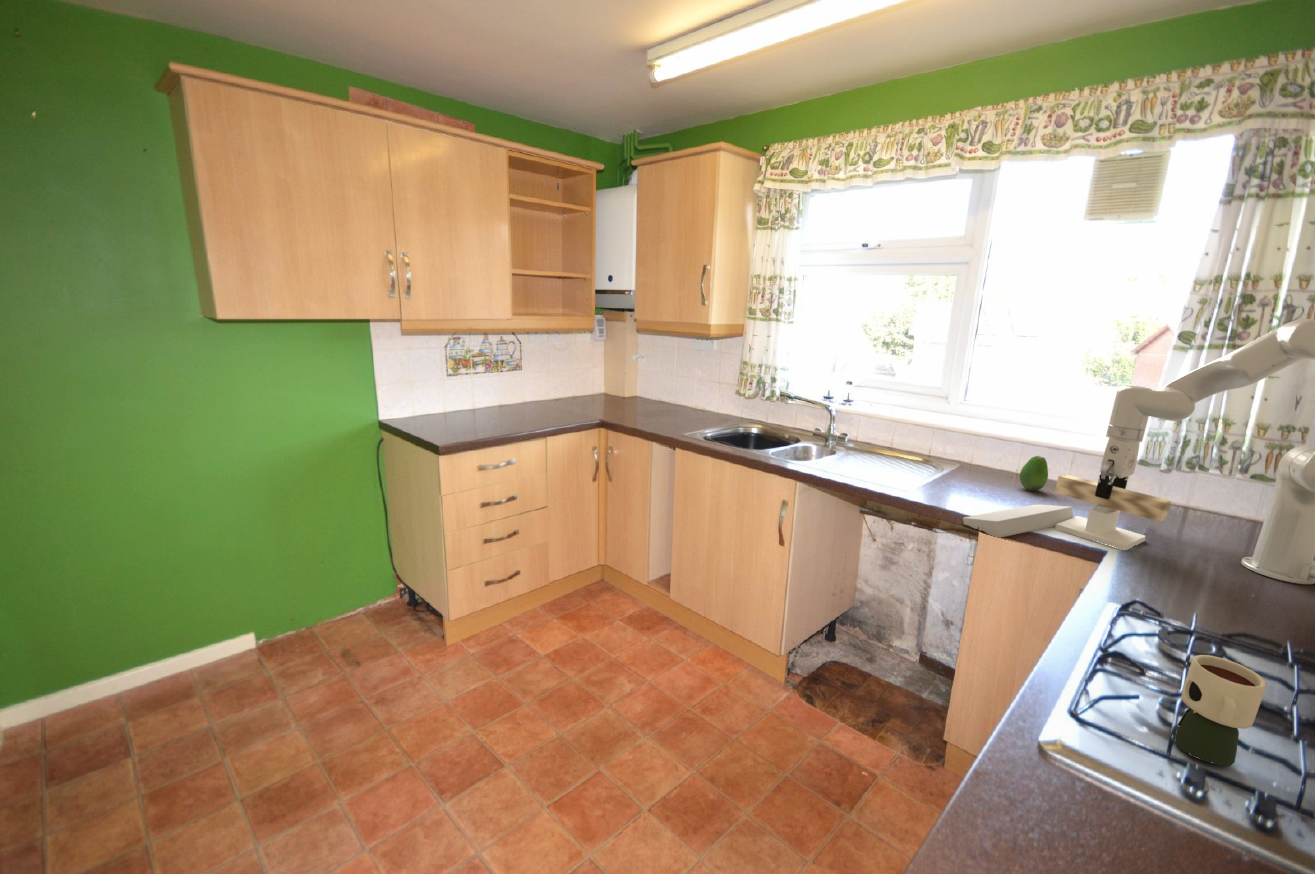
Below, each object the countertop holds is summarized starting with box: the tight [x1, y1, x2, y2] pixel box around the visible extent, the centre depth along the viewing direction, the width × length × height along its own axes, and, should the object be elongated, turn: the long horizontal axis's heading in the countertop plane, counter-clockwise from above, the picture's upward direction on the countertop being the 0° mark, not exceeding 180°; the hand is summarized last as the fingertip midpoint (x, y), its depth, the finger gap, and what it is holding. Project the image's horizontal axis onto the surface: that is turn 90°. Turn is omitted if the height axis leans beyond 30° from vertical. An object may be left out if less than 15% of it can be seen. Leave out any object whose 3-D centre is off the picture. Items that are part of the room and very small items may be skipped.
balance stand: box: [1054, 504, 1147, 552], centre depth 156 cm, size 16×14×9 cm
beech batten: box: [1054, 473, 1172, 522], centre depth 154 cm, size 24×4×5 cm, turn 34°
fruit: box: [1019, 455, 1049, 492], centre depth 193 cm, size 8×8×12 cm
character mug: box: [1174, 654, 1267, 767], centre depth 77 cm, size 11×7×13 cm, turn 143°
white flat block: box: [962, 504, 1074, 539], centre depth 163 cm, size 34×5×10 cm
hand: (1109, 495), depth 154 cm, fingers open, 9 cm apart
